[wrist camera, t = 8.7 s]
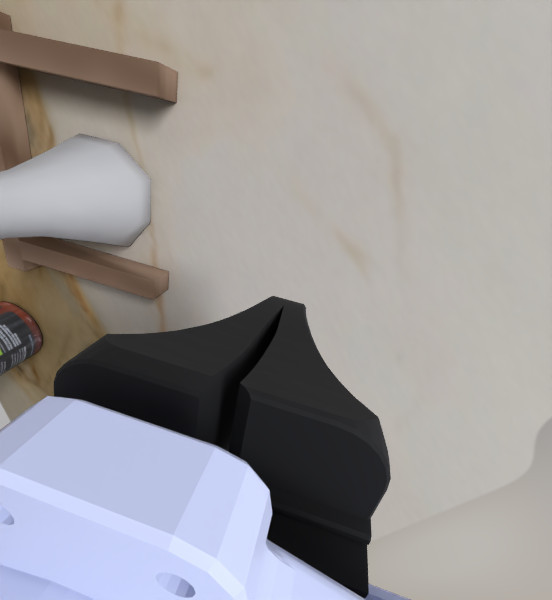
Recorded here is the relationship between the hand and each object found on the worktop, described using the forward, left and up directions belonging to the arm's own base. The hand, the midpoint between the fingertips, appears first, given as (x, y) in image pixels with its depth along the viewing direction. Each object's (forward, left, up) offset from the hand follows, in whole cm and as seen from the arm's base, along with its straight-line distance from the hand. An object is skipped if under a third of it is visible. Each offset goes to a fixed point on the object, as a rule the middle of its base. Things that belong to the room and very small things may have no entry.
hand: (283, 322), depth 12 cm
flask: (0, +15, -10) cm, 18 cm away
